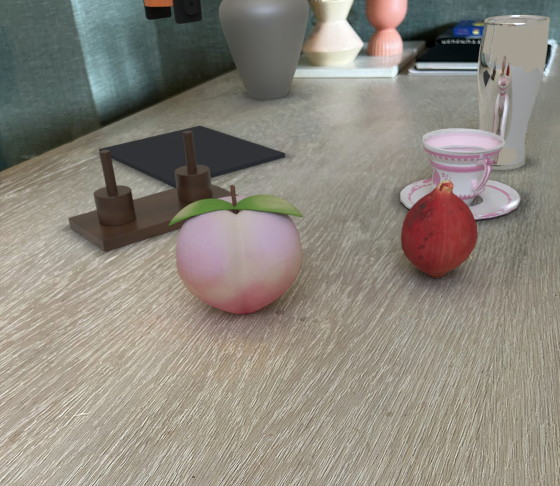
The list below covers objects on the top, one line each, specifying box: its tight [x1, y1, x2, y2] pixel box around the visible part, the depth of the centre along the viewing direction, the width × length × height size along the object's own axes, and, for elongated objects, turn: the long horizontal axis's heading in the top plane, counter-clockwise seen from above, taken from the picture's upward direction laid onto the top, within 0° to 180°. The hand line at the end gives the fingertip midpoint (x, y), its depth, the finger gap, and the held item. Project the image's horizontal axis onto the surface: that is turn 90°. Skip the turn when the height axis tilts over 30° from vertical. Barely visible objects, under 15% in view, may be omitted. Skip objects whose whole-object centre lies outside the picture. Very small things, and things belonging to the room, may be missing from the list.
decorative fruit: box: [169, 184, 304, 315], centre depth 49 cm, size 9×8×10 cm
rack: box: [67, 131, 240, 253], centre depth 67 cm, size 8×16×8 cm, turn 128°
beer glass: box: [476, 14, 551, 171], centre depth 74 cm, size 7×7×15 cm
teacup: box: [399, 127, 522, 221], centre depth 67 cm, size 12×12×6 cm
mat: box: [98, 125, 286, 188], centre depth 87 cm, size 20×16×1 cm
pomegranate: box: [400, 180, 479, 279], centre depth 53 cm, size 6×6×8 cm
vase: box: [218, 0, 310, 101], centre depth 107 cm, size 14×14×25 cm
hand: (173, 18), depth 77 cm, fingers closed on disc, 6 cm apart
